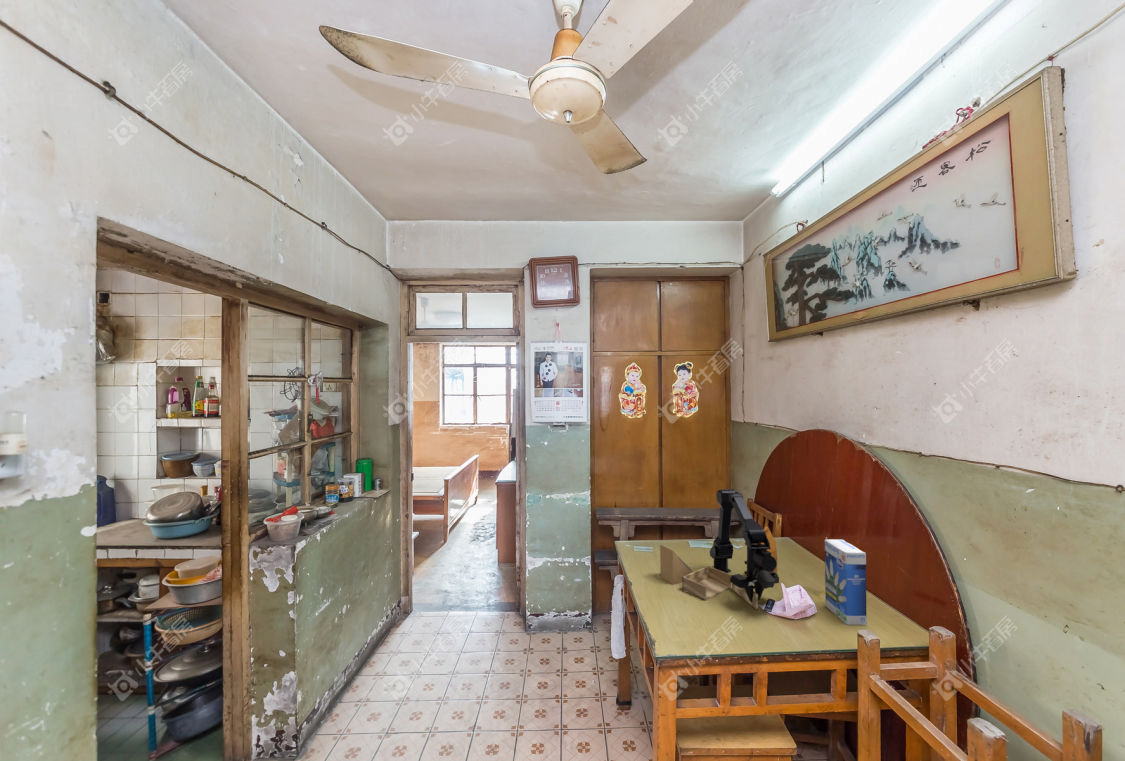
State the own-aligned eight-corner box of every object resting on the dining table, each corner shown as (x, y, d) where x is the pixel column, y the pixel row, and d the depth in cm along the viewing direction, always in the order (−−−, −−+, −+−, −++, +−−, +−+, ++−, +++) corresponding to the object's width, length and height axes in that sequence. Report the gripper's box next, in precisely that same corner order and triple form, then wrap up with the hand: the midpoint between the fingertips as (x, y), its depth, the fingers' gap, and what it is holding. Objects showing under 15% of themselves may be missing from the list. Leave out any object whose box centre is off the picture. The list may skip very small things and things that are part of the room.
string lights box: (824, 606, 163) (823, 538, 164) (844, 606, 163) (843, 538, 163) (846, 625, 150) (845, 552, 150) (868, 625, 150) (867, 552, 150)
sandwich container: (700, 578, 189) (699, 544, 189) (673, 585, 182) (673, 550, 182) (686, 570, 196) (685, 538, 196) (660, 577, 189) (659, 544, 190)
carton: (708, 578, 188) (708, 565, 188) (731, 587, 179) (731, 574, 179) (682, 589, 177) (682, 576, 177) (705, 600, 168) (705, 587, 168)
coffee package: (744, 578, 187) (743, 528, 187) (759, 571, 194) (758, 523, 194) (765, 587, 179) (764, 535, 179) (781, 579, 186) (780, 529, 186)
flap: (732, 588, 177) (731, 575, 178) (734, 588, 178) (733, 575, 178) (756, 609, 161) (756, 594, 161) (758, 609, 161) (758, 594, 161)
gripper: (750, 571, 154) (749, 614, 154) (790, 566, 160) (790, 608, 159) (729, 559, 165) (729, 600, 165) (768, 555, 171) (767, 594, 170)
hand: (754, 600), depth 164 cm, fingers open, 3 cm apart
